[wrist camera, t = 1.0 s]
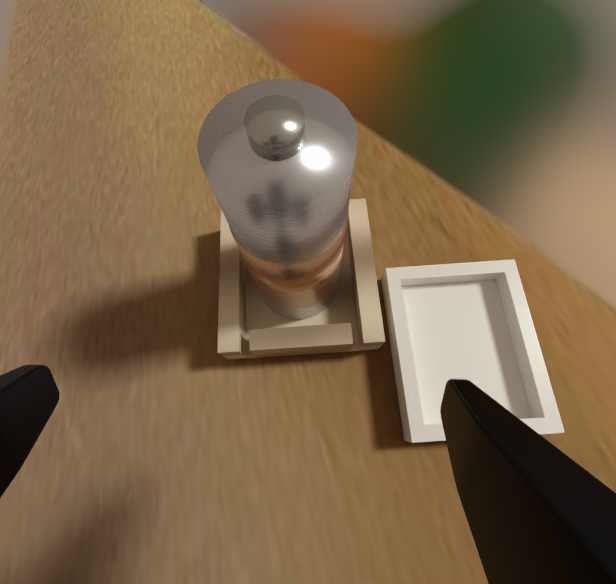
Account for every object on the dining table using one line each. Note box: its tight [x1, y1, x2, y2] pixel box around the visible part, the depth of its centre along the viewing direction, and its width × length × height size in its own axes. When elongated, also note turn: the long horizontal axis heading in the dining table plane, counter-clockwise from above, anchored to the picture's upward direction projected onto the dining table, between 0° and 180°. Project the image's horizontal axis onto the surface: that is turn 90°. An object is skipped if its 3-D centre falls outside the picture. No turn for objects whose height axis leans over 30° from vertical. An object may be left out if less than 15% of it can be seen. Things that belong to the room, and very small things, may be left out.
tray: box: [381, 259, 565, 443], centre depth 21 cm, size 10×8×2 cm
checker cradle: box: [217, 199, 385, 360], centre depth 22 cm, size 9×9×2 cm
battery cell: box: [198, 79, 358, 319], centre depth 17 cm, size 5×5×13 cm
